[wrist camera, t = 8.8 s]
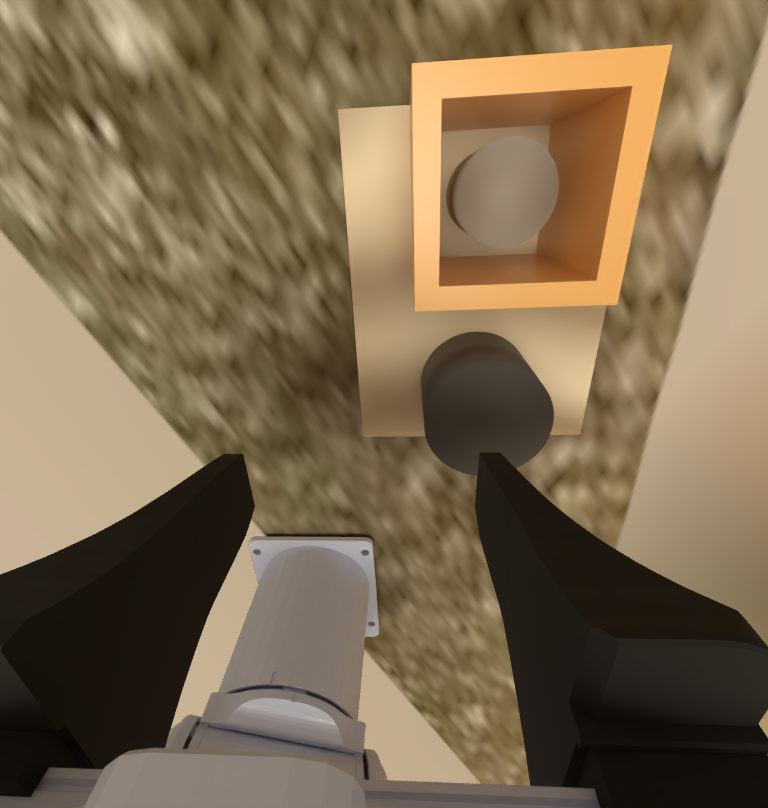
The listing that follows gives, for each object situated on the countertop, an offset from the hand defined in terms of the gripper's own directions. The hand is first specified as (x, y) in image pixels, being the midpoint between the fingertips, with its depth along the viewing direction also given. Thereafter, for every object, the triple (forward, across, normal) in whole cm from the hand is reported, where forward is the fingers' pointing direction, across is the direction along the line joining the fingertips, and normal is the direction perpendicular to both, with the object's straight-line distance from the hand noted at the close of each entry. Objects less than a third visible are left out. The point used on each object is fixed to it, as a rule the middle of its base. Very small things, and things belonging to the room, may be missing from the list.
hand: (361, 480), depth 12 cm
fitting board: (+9, -5, -4) cm, 11 cm away
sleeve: (+8, -5, -8) cm, 12 cm away
